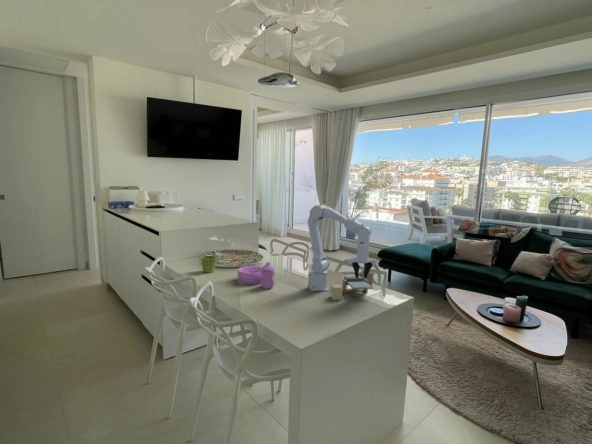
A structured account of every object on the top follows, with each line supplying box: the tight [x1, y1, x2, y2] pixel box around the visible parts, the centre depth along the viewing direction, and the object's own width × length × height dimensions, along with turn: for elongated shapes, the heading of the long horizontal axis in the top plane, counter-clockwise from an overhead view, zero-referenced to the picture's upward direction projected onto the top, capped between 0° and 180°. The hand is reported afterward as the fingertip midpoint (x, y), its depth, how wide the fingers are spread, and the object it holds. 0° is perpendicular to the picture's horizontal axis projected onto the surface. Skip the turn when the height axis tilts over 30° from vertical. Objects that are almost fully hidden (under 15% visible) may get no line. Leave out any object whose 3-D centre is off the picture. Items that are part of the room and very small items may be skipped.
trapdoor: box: [343, 275, 373, 290], centre depth 164 cm, size 10×14×4 cm
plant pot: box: [199, 255, 218, 274], centre depth 192 cm, size 9×9×9 cm
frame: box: [341, 279, 369, 294], centre depth 168 cm, size 13×5×7 cm, turn 101°
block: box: [329, 284, 343, 301], centre depth 158 cm, size 4×4×6 cm
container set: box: [237, 261, 276, 290], centre depth 175 cm, size 25×15×13 cm, turn 44°
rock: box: [358, 269, 375, 287], centre depth 179 cm, size 12×7×10 cm, turn 122°
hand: (361, 277), depth 160 cm, fingers open, 4 cm apart
